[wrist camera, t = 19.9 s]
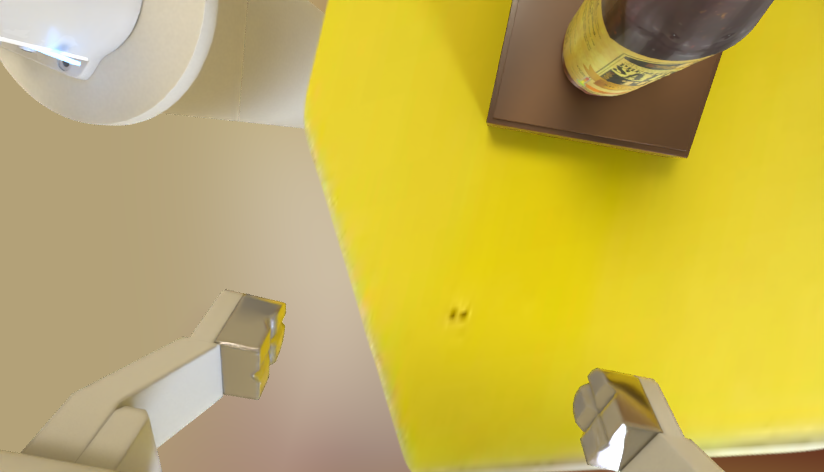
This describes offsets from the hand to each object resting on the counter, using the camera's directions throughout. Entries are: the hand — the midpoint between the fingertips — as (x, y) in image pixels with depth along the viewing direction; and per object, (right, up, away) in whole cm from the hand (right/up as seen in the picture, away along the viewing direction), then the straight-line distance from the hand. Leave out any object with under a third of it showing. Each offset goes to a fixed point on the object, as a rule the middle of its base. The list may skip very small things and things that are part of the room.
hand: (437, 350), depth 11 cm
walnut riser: (+13, +16, +21) cm, 30 cm away
